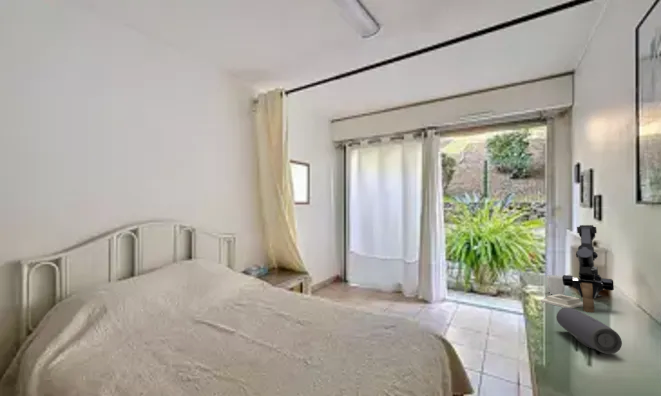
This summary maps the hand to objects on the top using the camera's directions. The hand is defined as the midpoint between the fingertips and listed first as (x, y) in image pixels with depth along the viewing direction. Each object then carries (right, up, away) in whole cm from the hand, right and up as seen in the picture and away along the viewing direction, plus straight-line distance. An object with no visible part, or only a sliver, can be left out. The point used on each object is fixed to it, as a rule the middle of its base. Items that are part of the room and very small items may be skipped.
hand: (587, 297), depth 143 cm
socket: (-1, -7, +14) cm, 16 cm away
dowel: (+1, -7, +1) cm, 7 cm away
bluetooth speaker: (-29, -6, -33) cm, 44 cm away
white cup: (+8, -8, +30) cm, 32 cm away
